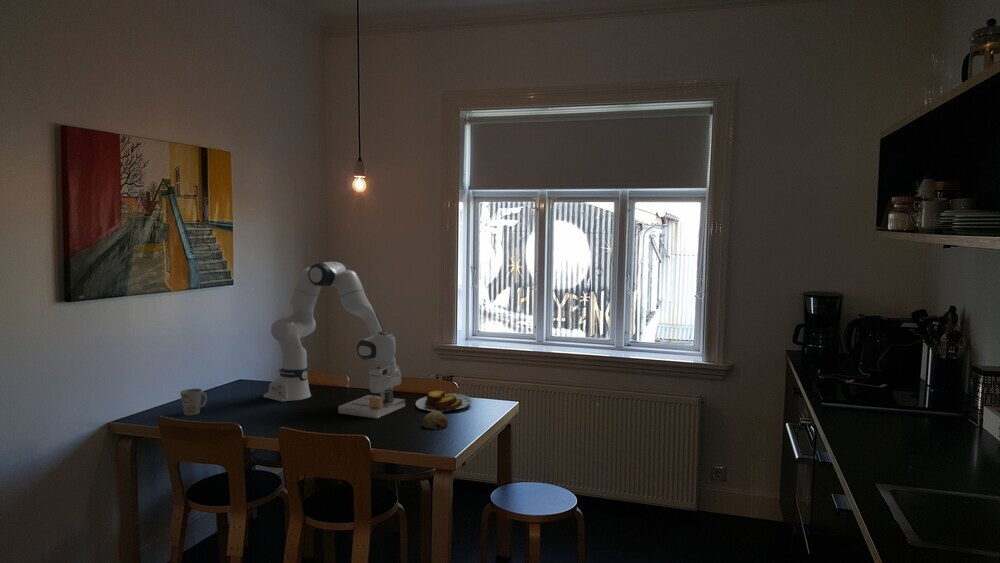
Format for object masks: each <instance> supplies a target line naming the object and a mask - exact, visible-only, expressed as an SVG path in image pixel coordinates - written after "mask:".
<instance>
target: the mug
mask: <svg viewBox="0 0 1000 563" xmlns="http://www.w3.org/2000/svg"><path fill="white" fill-rule="evenodd" d="M202 396H203V397H204V401H203V403H202ZM180 399H181V404H182V409H183V414H184V416H196V415H199V414H200V413H201V412H200V411H201V408H203V407H204V406H206V404H207V401H208V396H207V393H206V392H205V391H203V390H202V389H200V388H187V389H183V390H181V391H180ZM201 403H202V404H201Z"/></svg>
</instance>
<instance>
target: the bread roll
mask: <svg viewBox="0 0 1000 563" xmlns="http://www.w3.org/2000/svg"><path fill="white" fill-rule="evenodd" d="M448 423H449V422H448V417H447V416H446V414H444V413H443V411H429V412H428V413H427V414H426V415H425V416H424V417H423V419H422V425H423V427H424V428H426V429H429V428H430V430H438V429H437V428H439V429H444V428H446V427H447V426H448ZM443 427H444V428H443Z"/></svg>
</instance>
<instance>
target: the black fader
mask: <svg viewBox="0 0 1000 563" xmlns="http://www.w3.org/2000/svg"><path fill="white" fill-rule="evenodd" d="M384 394H385V396H386V399H385V400H383V401H384V402H391V401H393V398H394V392H393V391H392V392H390V391H388V390H385V393H384ZM379 396H380V395H379ZM380 397H381V396H380Z"/></svg>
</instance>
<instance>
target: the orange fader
mask: <svg viewBox="0 0 1000 563" xmlns="http://www.w3.org/2000/svg"><path fill="white" fill-rule="evenodd" d="M379 396H380V395H373V396H372V397H370V398H369V404H370V407H376V408H380V407H383V397H379Z"/></svg>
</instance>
